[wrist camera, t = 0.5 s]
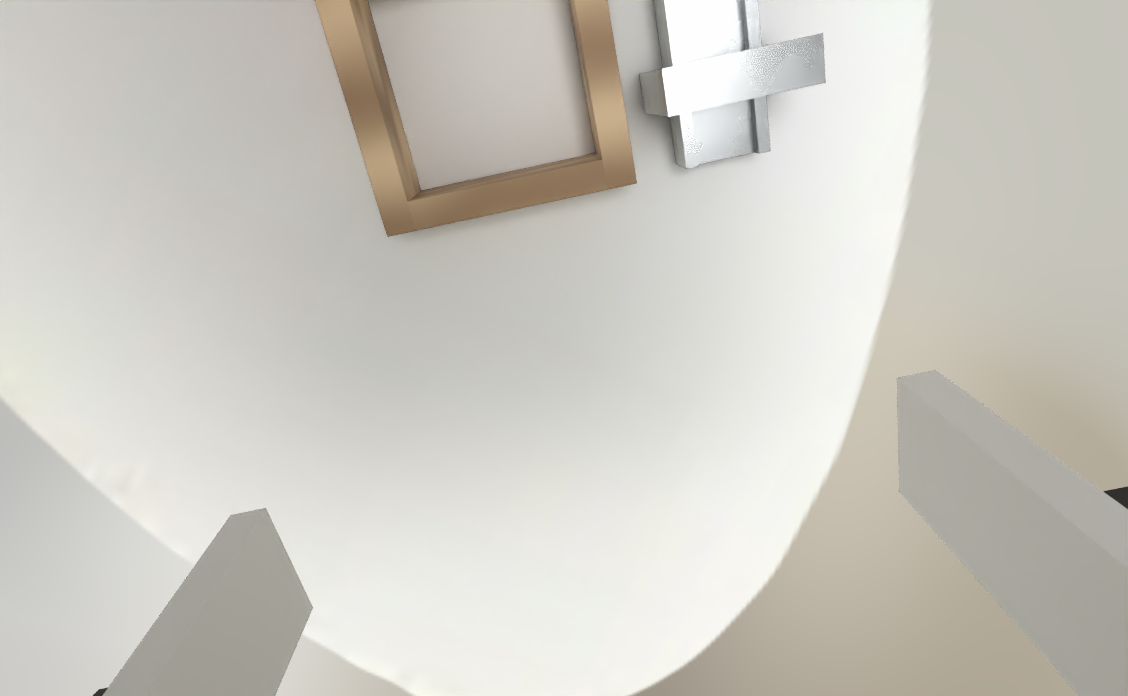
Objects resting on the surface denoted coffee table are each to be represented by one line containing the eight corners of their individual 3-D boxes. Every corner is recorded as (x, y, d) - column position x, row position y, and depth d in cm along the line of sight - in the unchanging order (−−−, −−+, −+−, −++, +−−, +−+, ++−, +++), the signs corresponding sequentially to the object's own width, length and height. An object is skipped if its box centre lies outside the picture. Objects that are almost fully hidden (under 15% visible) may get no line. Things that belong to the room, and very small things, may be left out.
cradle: (327, -33, 32) (299, -50, 29) (582, -93, 32) (588, -118, 28) (402, 222, 37) (387, 236, 33) (627, 174, 37) (636, 183, 33)
